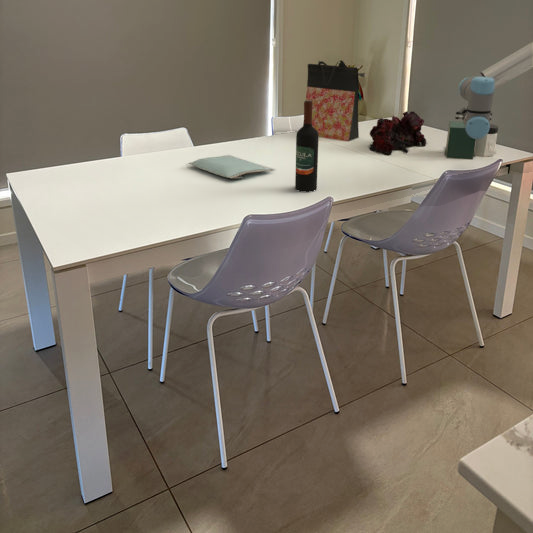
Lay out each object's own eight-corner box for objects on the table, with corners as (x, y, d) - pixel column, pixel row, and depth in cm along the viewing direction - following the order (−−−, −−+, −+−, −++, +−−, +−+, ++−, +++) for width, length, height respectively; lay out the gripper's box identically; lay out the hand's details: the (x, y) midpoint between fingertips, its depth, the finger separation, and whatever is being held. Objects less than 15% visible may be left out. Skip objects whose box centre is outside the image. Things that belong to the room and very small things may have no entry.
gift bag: (298, 135, 284) (300, 58, 269) (314, 129, 294) (317, 56, 279) (352, 143, 268) (357, 62, 253) (366, 137, 278) (372, 60, 263)
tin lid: (448, 122, 252) (449, 121, 252) (474, 124, 250) (475, 122, 250) (450, 129, 240) (450, 127, 240) (477, 130, 238) (477, 128, 238)
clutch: (228, 162, 245) (187, 166, 232) (228, 151, 243) (187, 155, 230) (272, 176, 225) (231, 182, 213) (273, 165, 224) (231, 170, 211)
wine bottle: (321, 189, 206) (324, 102, 194) (304, 193, 202) (306, 104, 190) (307, 184, 212) (310, 98, 199) (290, 187, 208) (292, 101, 195)
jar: (479, 157, 246) (483, 128, 241) (469, 152, 253) (473, 124, 248) (498, 155, 248) (503, 127, 243) (487, 151, 255) (492, 123, 250)
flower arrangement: (396, 157, 246) (400, 121, 240) (357, 149, 258) (359, 114, 252) (433, 144, 267) (437, 110, 261) (395, 137, 279) (398, 105, 273)
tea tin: (445, 150, 256) (449, 123, 251) (470, 151, 254) (474, 124, 249) (446, 157, 245) (450, 129, 240) (472, 159, 243) (477, 130, 238)
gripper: (454, 129, 212) (452, 117, 233) (492, 131, 209) (486, 118, 230) (457, 108, 209) (454, 97, 230) (496, 110, 206) (489, 98, 227)
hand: (470, 108), depth 230 cm, fingers closed
